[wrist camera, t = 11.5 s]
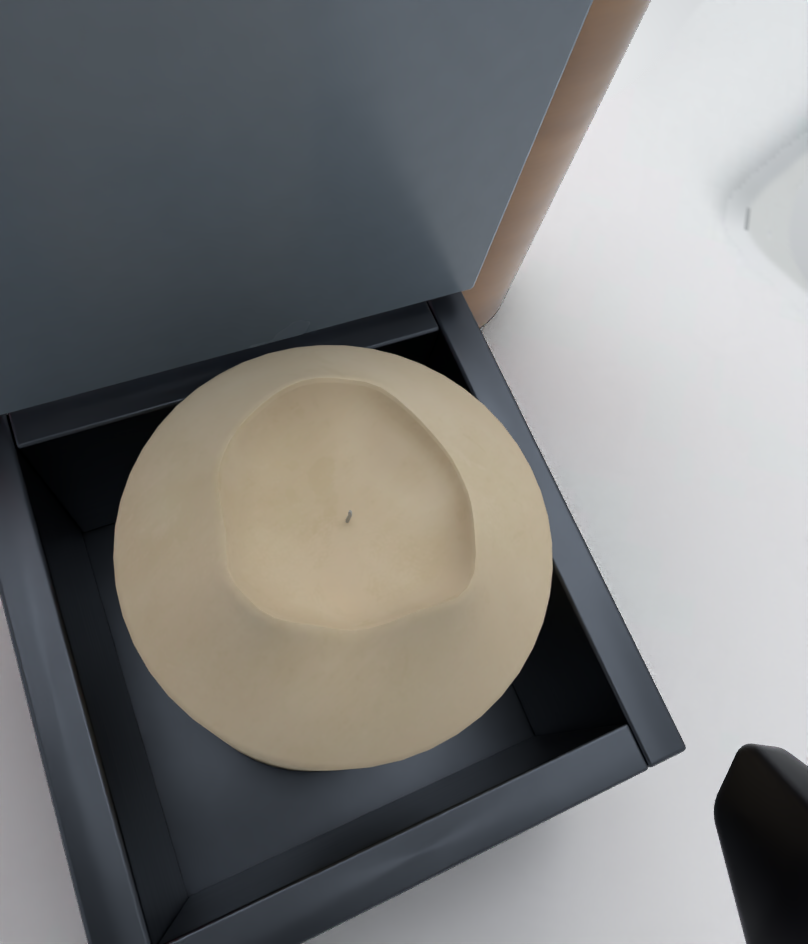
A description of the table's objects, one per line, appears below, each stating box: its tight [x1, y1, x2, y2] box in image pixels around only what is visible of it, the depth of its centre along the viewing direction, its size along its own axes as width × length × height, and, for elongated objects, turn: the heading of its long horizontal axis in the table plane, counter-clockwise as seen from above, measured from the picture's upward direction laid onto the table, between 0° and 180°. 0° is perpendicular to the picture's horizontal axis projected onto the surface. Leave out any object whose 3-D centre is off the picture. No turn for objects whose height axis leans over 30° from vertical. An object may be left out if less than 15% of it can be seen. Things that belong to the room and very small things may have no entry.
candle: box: [113, 345, 553, 771], centre depth 13 cm, size 6×6×10 cm
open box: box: [0, 292, 686, 944], centre depth 16 cm, size 10×10×6 cm
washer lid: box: [0, 0, 593, 415], centre depth 9 cm, size 10×10×1 cm
